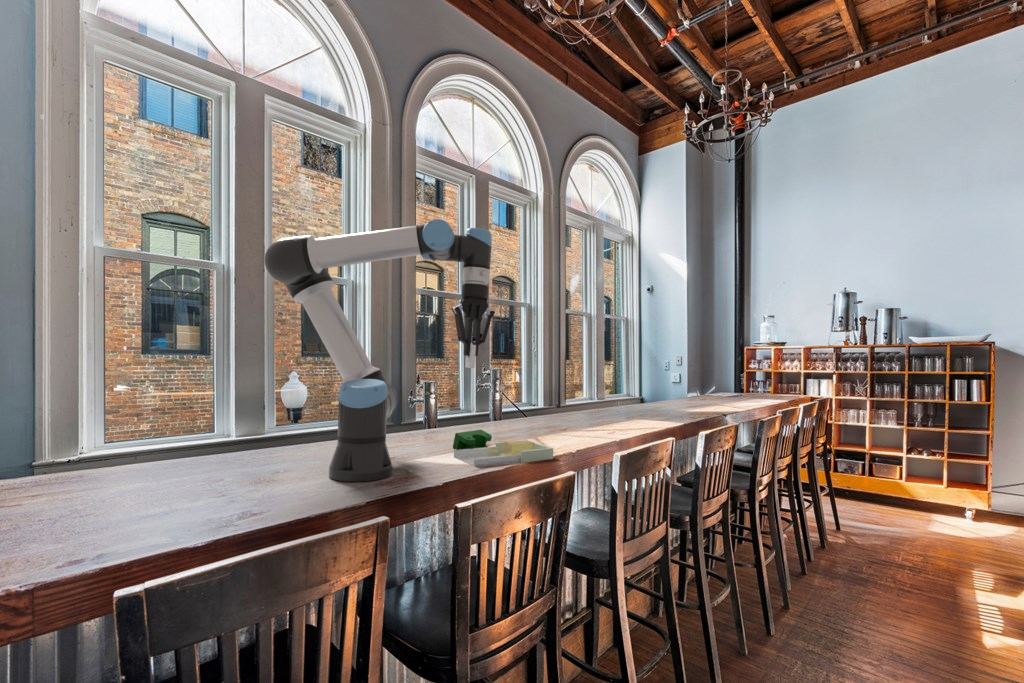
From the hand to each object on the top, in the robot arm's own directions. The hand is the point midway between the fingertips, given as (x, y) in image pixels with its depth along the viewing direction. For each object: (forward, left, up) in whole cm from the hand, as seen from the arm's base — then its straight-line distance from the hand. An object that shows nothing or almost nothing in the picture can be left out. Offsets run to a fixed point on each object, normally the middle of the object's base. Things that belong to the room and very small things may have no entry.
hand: (469, 367), depth 142 cm
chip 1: (+15, -1, -26) cm, 30 cm away
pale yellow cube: (+19, -1, -26) cm, 32 cm away
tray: (+18, -1, -27) cm, 32 cm away
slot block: (+5, -1, -27) cm, 27 cm away
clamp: (+10, +15, -27) cm, 32 cm away
